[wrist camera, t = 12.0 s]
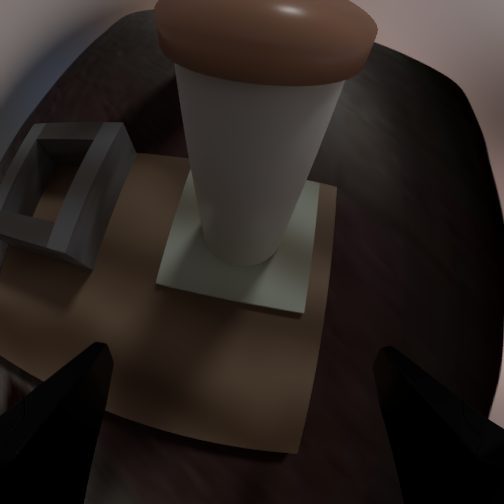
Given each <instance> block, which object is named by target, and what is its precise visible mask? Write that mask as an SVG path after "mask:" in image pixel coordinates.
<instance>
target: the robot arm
mask: <svg viewBox="0 0 504 504" xmlns="http://www.w3.org/2000/svg"><path fill="white" fill-rule="evenodd" d="M113 366H114V361H113V358H112V355H111V352H110V350H109V347H108V345H107V344H106V343H104V342H94V343H92V344H91V345H90V346H89V347H87V348H86V349H85V350H83V351H82V352H81V353H80V354H78V355H77V356H76V357H74V358H73V359H72V360H71V361H69V362H68V363H67V364H65V365H64V366H63V367H62V368H60V369H59V370H58V371H57V372H55V373H54V374H53V375H52V376H50V377H49V378H48V379H47V380H45V381H44V382H43V383H41V384H40V385H39V386H38V387H37V388H35V389H34V390H33V391H32V392H30V393H29V394H28V395H27V396H25V398H23V399H22V400H20V401H19V402H18V403H17V404H15V405H14V406H13V407H11V408H10V409H9V410H8V411H6V412H5V413H3V414H2V415H0V504H83V503H84V500H85V494H86V489H87V484H88V479H89V474H90V469H91V464H92V460H93V455H94V451H95V447H96V443H97V439H98V435H99V431H100V427H101V423H102V420H103V416H104V412H105V409H106V405H107V400H108V394H109V388H110V382H111V377H112V372H113ZM373 373H374V378H375V383H376V388H377V394H378V399H379V404H380V409H381V412H382V416H383V419H384V423H385V426H386V430H387V434H388V437H389V441H390V445H391V449H392V453H393V457H394V461H395V465H396V469H397V473H398V477H399V482H400V486H401V491H402V496H403V500H404V504H504V429H503V428H502V427H500V426H498V425H497V424H495V423H493V422H492V421H490V420H489V419H487V418H486V417H484V416H483V415H481V414H480V413H479V412H477V411H476V410H475V409H473V408H472V407H471V406H469V405H468V404H467V403H465V402H464V401H462V400H461V399H460V398H459V397H458V396H456V395H455V394H454V393H452V392H451V391H450V390H449V389H447V388H446V387H445V386H443V385H442V384H441V383H440V382H438V381H437V380H436V379H434V378H433V377H432V376H430V375H429V374H428V373H427V372H425V371H424V370H423V369H421V368H420V367H419V366H418V365H416V364H415V363H414V362H412V361H411V360H410V359H408V358H407V357H406V356H404V355H403V354H402V353H401V352H399V351H398V350H397V349H395V348H394V347H392V346H387V347H382V348H381V349H380V350H379V352H378V354H377V357H376V359H375V361H374V363H373Z"/></svg>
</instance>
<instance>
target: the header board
mask: <svg viewBox="0 0 504 504" xmlns="http://www.w3.org/2000/svg"><path fill="white" fill-rule="evenodd" d="M336 193H337V187H335V186H331V185H326V184H322V183H318V182H314V181H309V180H306V182H305V184H304V187H303V189H302V192H301V194H300V197H299V199H298V202H297V204H296V207H295V209H294V211H293V214H292V216H291V219H290V221H289V223H288V226H287V228H286V231H285V233H284V235H283V238H282V240H281V243H280V245H279V247H278V249H277V250H276V252H275V253H274V254H273V255H272V256H271V257H270V258H268V259H267V260H266V261H264V262H262V263H259V264H257V265H253V266H246V267H242V266H234V265H230V264H228V263H225V262H223V261H222V260H220V259H219V258H217V257H216V256H215V255H214V254H213V253H212V252H211V251H210V249H209V248H208V246H207V244H206V242H205V238H204V234H203V229H202V224H201V219H200V214H199V209H198V204H197V199H196V194H195V188H194V183H193V178H192V172H191V167H190V161H189V159H187V158H179V157H171V156H163V155H154V154H144V153H136V151H135V149H134V147H133V144H132V142H131V140H130V137H129V135H128V133H127V130H126V128H125V126H124V123H121V122H63V123H43V124H34V125H33V127H32V128H31V130H30V132H29V133H28V135H27V136H26V138H25V140H24V141H23V143H22V145H21V146H20V148H19V150H18V152H17V153H16V155H15V157H14V159H13V161H12V163H11V165H10V166H9V168H8V170H7V172H6V174H5V176H4V178H3V180H2V182H1V185H0V239H1V240H3V241H4V242H6V243H8V244H9V246H8V249H7V252H6V256H5V259H4V262H3V266H2V269H1V273H0V355H1V356H2V357H4V358H5V359H7V360H8V361H10V362H11V363H13V364H14V365H16V366H18V367H19V368H21V369H23V370H24V371H26V372H28V373H29V374H31V375H33V376H35V377H36V378H38V379H40V380H42V381H45V380H47V379H48V378H49V377H50V376H52V375H53V374H54V373H55V372H57V371H58V370H59V369H60V368H62V367H63V366H64V365H65V364H67V363H68V362H69V361H71V360H72V359H73V358H74V357H76V356H77V355H78V354H80V353H81V352H82V351H83V350H85V349H86V348H87V347H89V346H90V345H91V344H92V343H94V342H104V343H106V344H107V345H108V347H109V350H110V352H111V355H112V358H113V361H114V366H113V372H112V377H111V382H110V388H109V394H108V400H107V405H106V409H105V411H108V412H111V413H113V414H116V415H118V416H121V417H124V418H127V419H129V420H132V421H135V422H138V423H141V424H144V425H147V426H151V427H154V428H157V429H161V430H164V431H168V432H171V433H175V434H179V435H183V436H187V437H191V438H195V439H199V440H204V441H208V442H213V443H218V444H224V445H229V446H235V447H241V448H248V449H255V450H263V451H272V452H282V453H295V454H297V453H298V449H299V445H300V441H301V437H302V433H303V429H304V424H305V420H306V415H307V411H308V406H309V401H310V397H311V392H312V387H313V381H314V376H315V371H316V365H317V360H318V354H319V348H320V342H321V335H322V329H323V322H324V315H325V308H326V300H327V293H328V285H329V276H330V267H331V257H332V247H333V236H334V223H335V209H336Z"/></svg>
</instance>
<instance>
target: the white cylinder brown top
mask: <svg viewBox="0 0 504 504" xmlns="http://www.w3.org/2000/svg"><path fill="white" fill-rule="evenodd" d="M155 18H156V26H157V33H158V39H159V46H160V48H161V51H162V52H163V53H164V55H165V56H166V57H167V58H169V59H170V60H171V61H172V62H174V64H175V71H176V79H177V86H178V93H179V100H180V106H181V113H182V119H183V125H184V132H185V138H186V144H187V149H188V155H189V161H190V167H191V172H192V178H193V183H194V188H195V194H196V199H197V204H198V209H199V214H200V219H201V224H202V229H203V234H204V238H205V242H206V244H207V246H208V248H209V249H210V251H211V252H212V253H213V254H214V255H215V256H216V257H217V258H219V259H220V260H222V261H223V262H225V263H228V264H230V265H234V266H242V267H246V266H253V265H257V264H259V263H262V262H264V261H266V260H267V259H268V258H270V257H271V256H272V255H273V254H274V253H275V252H276V250H277V249H278V247H279V245H280V243H281V240H282V238H283V235H284V233H285V231H286V228H287V226H288V223H289V221H290V219H291V216H292V214H293V211H294V209H295V207H296V204H297V202H298V199H299V197H300V194H301V192H302V189H303V187H304V184H305V182H306V180H307V177H308V175H309V172H310V170H311V167H312V165H313V162H314V160H315V157H316V155H317V152H318V150H319V147H320V145H321V142H322V139H323V137H324V134H325V132H326V129H327V127H328V124H329V122H330V119H331V116H332V114H333V111H334V109H335V106H336V103H337V101H338V98H339V96H340V93H341V90H342V88H343V85H344V82H345V80H347V79H349V78H351V77H353V76H355V75H356V74H358V73H359V72H360V71H361V70H362V68H363V67H364V65H365V63H366V60H367V58H368V55H369V53H370V50H371V48H372V45H373V43H374V40H375V38H376V35H377V31H378V29H377V25H376V23H375V22H374V20H373V19H372V18H371V17H370V15H368V14H367V13H366V12H365V11H364V10H363V9H361V8H360V7H359V6H357V5H355V4H354V3H352V2H351V1H348V0H159V1H158V2H157V3H156V5H155Z"/></svg>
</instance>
